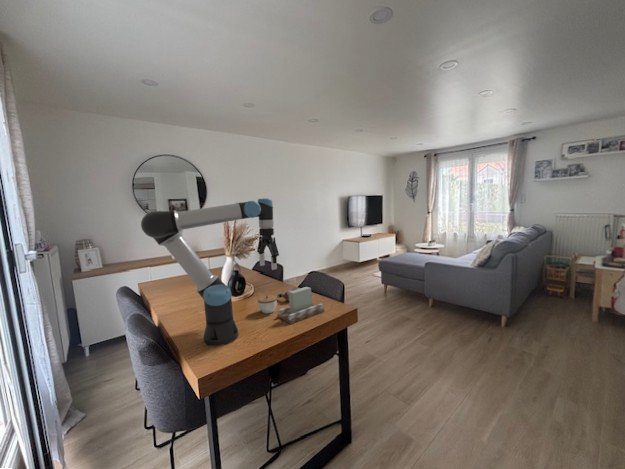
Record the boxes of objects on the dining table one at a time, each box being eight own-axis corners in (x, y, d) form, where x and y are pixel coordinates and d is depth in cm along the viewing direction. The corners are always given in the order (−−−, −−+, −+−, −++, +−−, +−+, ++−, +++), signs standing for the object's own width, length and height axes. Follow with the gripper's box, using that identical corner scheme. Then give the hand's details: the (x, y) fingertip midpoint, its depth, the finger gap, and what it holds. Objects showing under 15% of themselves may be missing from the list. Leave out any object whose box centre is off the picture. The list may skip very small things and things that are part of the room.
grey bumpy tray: (291, 324, 129) (291, 316, 129) (277, 316, 139) (277, 309, 139) (324, 311, 143) (324, 304, 142) (309, 305, 153) (309, 298, 152)
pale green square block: (312, 309, 143) (311, 288, 142) (294, 315, 135) (292, 293, 134) (307, 307, 146) (306, 286, 145) (290, 313, 139) (288, 291, 137)
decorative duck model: (273, 291, 162) (286, 284, 175) (275, 303, 163) (288, 295, 176) (293, 292, 155) (305, 284, 168) (295, 304, 155) (307, 295, 168)
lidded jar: (275, 306, 154) (273, 291, 153) (279, 312, 144) (278, 296, 143) (257, 310, 150) (255, 294, 149) (260, 316, 140) (259, 300, 139)
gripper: (284, 228, 130) (286, 269, 131) (262, 226, 149) (263, 263, 151) (271, 229, 125) (273, 272, 127) (250, 227, 145) (251, 264, 147)
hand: (268, 267), depth 139 cm, fingers open, 13 cm apart
